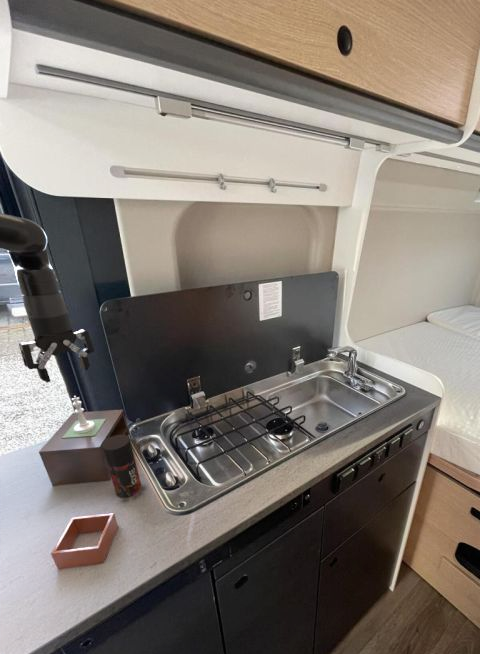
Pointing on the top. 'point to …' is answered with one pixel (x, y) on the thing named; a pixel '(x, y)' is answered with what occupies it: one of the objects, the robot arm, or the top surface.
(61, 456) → the green-topped wooden plinth
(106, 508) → the top surface
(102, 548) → the reddish-brown hollow diamond-shaped frame
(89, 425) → the chess piece
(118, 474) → the deodorant
